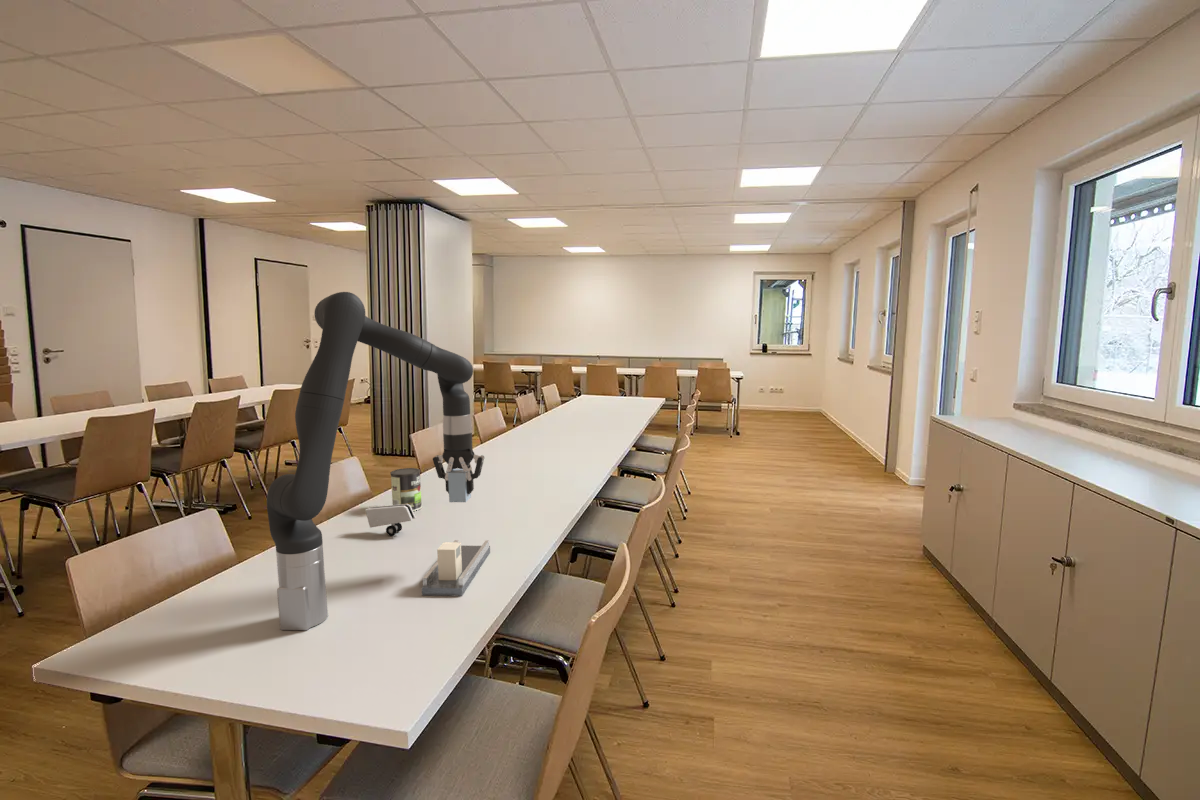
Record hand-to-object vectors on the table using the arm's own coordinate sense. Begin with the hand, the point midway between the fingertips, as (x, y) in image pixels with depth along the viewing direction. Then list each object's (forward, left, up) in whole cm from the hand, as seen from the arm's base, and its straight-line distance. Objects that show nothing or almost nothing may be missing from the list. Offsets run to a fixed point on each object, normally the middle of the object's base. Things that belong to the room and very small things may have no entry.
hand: (460, 492), depth 157 cm
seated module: (-11, 0, -19) cm, 22 cm away
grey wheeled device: (+26, +38, -17) cm, 49 cm away
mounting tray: (-4, 0, -21) cm, 21 cm away
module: (0, 0, -2) cm, 2 cm away
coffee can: (+51, +36, -21) cm, 66 cm away
